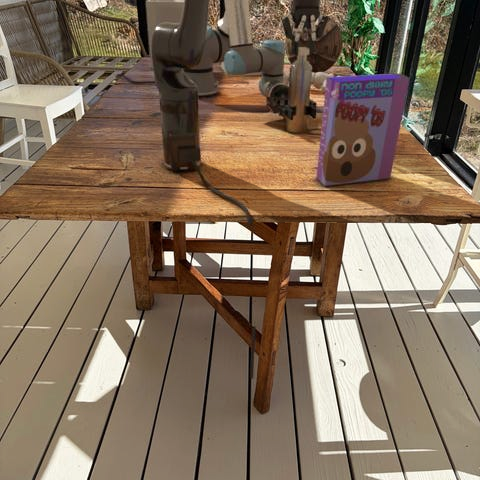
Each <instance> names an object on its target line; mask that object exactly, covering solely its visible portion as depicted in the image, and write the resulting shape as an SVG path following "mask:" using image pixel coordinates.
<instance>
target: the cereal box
mask: <svg viewBox="0 0 480 480" xmlns="http://www.w3.org/2000/svg"><path fill="white" fill-rule="evenodd" d="M340 76H341V77H337V76H334V77H327V80H326V90H325V92H324V100H323V108H322V109H323V110H322V120H321V129H320V130H321V132H320V139H319V140H320V141H319V147H318V148H319V149H318V156H317V157H318V158H317V167H316V176H315V178H316V180H317V181H318V182H319V183H320V184H321V185H322V186H324V187H333V186H340V185H349V184H359V183H367V182H376V181H383V180H390V179H391V178H392V172H393V166H394V163H395V162H394V161H395V156H396V150H397V145H398V140H399V135H400V130H401V125H402V119H403V114H404V108H405V105H406V104H405V103H406V99H407V93H408V88H409V83H410V77H409V76H407V75H405V74H402V73H381V74H380V73H379V74H378V73H377V74H360V75H344V76H343V75H340Z"/></svg>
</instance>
